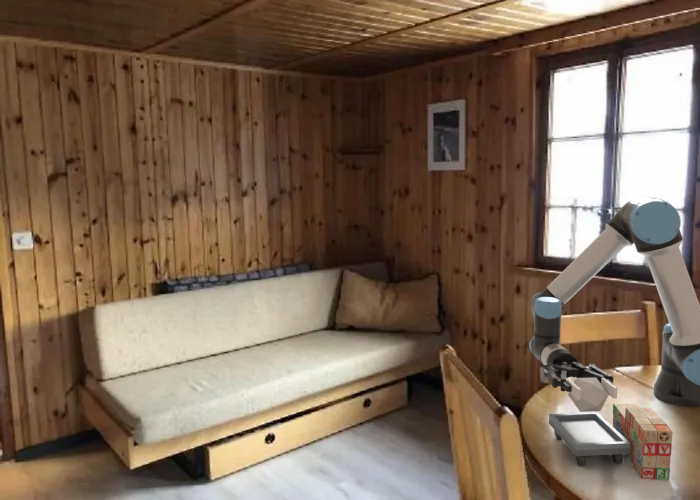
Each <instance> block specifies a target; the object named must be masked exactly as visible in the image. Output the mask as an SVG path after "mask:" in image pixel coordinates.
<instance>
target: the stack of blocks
mask: <svg viewBox="0 0 700 500" xmlns="http://www.w3.org/2000/svg"><path fill="white" fill-rule="evenodd" d="M612 426H613V427H614V428H615V429H616V430H617V431H618V432H619V433H620V434H621V435H622V436H623V437H624V438H625V439H627V440H628V441H629V442H630V454H624V455H625V456H626V458H627V460H629V462H630V464H631V465H632V467H633V468H634V471H636V474H637V475H638V476H639V479H641V480H659V481H660V480H661V481H669V480H670V473H671V457H672V449H673V448H672V446H673V444H672V442H673V432H674V431H673V430H672V428H671V427H669V425H668V424H667V423H666V422H665V420H664V419H663V418H662V417H660V415H659V414H658V413H656V411H655V410H654V409H653V408H652V407H640V405H639V404H638V403H626V402H625V403H620V402H619V403H617V402H614V403H612Z"/></svg>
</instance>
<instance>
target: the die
mask: <svg viewBox="0 0 700 500" xmlns="http://www.w3.org/2000/svg"><path fill="white" fill-rule="evenodd" d="M573 383H575V384H576V385H577V386H578V387H579V388H580V389H581V398H580V400H577V399H576V398H575V397H574V396H573V395H572V394H571V393H570V392H568V393H567V395H568V397H569V399H570V400H571V401H572V402H573V404H574V405H575V407H576V408H577V410H578V412H579V413H586V412H601V411H602V408H603V407H604V405H605V404H606V401H607V399H608V397H609V396H610V395H609V394H608V392H607V391H606V390H605V389H604V387H603V386H602V385H601V383H600V382H599V381H598V379H597V378H576V377H575V380H574V382H573Z"/></svg>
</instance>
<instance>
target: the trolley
mask: <svg viewBox="0 0 700 500" xmlns="http://www.w3.org/2000/svg"><path fill="white" fill-rule="evenodd" d="M548 424H549V425H550V427H551V428H552V430H553V432H554V436H555V439H556V440H557V441H561V440H562V441H563V442H564V444H565V445H566V446H567V447H568V448H569V449H570V451H571V452H572V453H573V454H574V460H575V463H576V465H577V464H578V465H577V466H578V467H585V466H586V465H587V456H588V457H589V456H604V455H605V456H606V455H607V456H608V455H610V457H611V460H612V462H613V464H614V465H622V464H623V463H624V455H625V454H630V442H629V441H628V440H627V439H625V438H624V437H623V436H622V435H621V434H620V433H619V432H618V431H617V430H616V429H615V428H614V427H613V424H610V423H609V422H608V421H607V420H606V419H605V418H604V417H603V416H602V415H601V414H600V413H599V411H593V412H568V413H567V412H566V413H563V412H562V413H549V414H548Z"/></svg>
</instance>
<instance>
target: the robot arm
mask: <svg viewBox="0 0 700 500" xmlns="http://www.w3.org/2000/svg"><path fill="white" fill-rule="evenodd" d="M681 223H682V222H681V216H680V213H679V211H678V210H677V209H676V208H675V206H673V205H672V204H671V203H669V202H668V201H666V200H664V199H661V198H654V197H649V196H639V197H635V198H633V199H630V200H628V202H626V203H625V204H624V205H623V206H622V207H621V208H620V209H619V210H618V211H617V212H616V213H615V214H614V215H613V216H612V217H611V218H610V219H609V220H608V221H607V223H605V229H604V230H603V231H602V232H601V233H600V234H599V235H598V236H597V237H596V238H595V239H593V241H592V242H591V243H590V244H589V245H588V246H587V247H586V248H585V249H584V250H583V251H582V252H581V253H580V254H579V255H578V256H576V258H575V259H574V260H572V262H571V263H569V265H567V266H566V267H565V268H564V270H562V271H561V272H560V273H559V275H557V276H556V278H554V280H553V281H551V282H550V283H549V284H548V285H547V286H546V287H545V288H544V289H543V290H542V291H541V292H538V293H536V294H534V295H533V296H532V299H531V300H530V310H531V313H532V316H533V319H534V320H533V323H534V325H533V327H534V329H533V330H534V331H533V336H531V338H530V340H529V343H528V347H529V351H530V352H531V353H532V355H533V356H534V358H535V359H537V360H538V361H540V363H542V364H543V375H544V376H545V377H547V379H548V381H549V383H550V385H551V386H552V388H553V389H556V388H558V387H560V391H561V392H567V393H569V392H570V393H571V394H572V395H573V396H574V397H575V398H576V399H577V400H580V398H581V389H580V388H579V387H578V386H577V385H576V384H575V383H574V382H573V381H572V380H571V378H575V379H576V378H597V379H598V381H599V382H600V383H601V385H602V386H603V387H604V389H605V390H606V391H607V392H608V394H609V396H610V397H611V398H612V399H614V400H616V399H617V398H618V387H617V386H616V385H615V384H614V375H612V374H611V373H608V371H605V370H603V369H601V368H599V367H597V366H596V365H595V364H594V363H589V364H588V366H585V365H584V364H582V363H580V362H579V361H578V359H577V357H576V356H575V355H574V354H572V352H570V351H569V350H568V349H567V348H565V347H564V346H562V345H561V335H562V333H561V327H562V326H561V325H562V314H563V310H562V307H564V306H565V304H566V303H567V302H569V300H571V299H572V298H573V297H574V296H575V295H576V294H577V293H578V292H580V290H581V289H582V288H584V286H585V285H587V284H588V283H589V282H590V281H591V279H593V278H594V277H595V276H596V275H597V274H598V273H599V272H600V271H601V270H602V269H603V268H604V267H605V266H607V265H608V264H609V263H610V262H611V260H612V259H614V258H615V257H616V256H617V255H618V254H619V253H620V252H621V251H622V250H623V249H624V248H626V247H630V246H633V245H634V246H635V249H636V252H637V253H638V254H641V255H643V256H644V257H645V259H646V262H647V266H648V268H649V270H650V272H651V273H650V274H651V276H652V278H653V281H654V284H655V286H656V287H655V288H656V289H657V290H656V291H657V293H658V295H659V298H660V301H661V304H662V306H663V310H664V312H665V315H666V317H667V320H668V323H666V324H665V325H664V326H663V331H662V349H661V350H662V351H661V367H660V371H659V374H658V376H657V378H656V380H655V383H654V385H653V394H654V396H655V397H657V398H658V399H660V400H662V401H665V402H666V403H671V404H673V405H679V406H683V407H684V406H685V407H700V302H699V300H698V297H697V293H696V290H695V288H694V285H693V283H692V279H691V276H690V274H689V271H688V269H687V265H686V262H685V259H684V258H683V254H682V252H681V248H680V246H681V244H682V243H683V240H684V238H683V235H682V232H681V230H680V228H681Z"/></svg>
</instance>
